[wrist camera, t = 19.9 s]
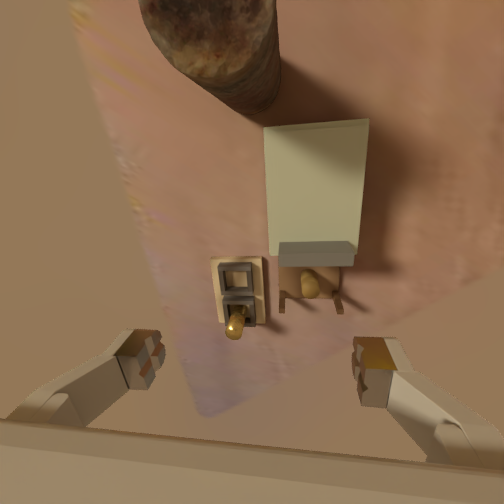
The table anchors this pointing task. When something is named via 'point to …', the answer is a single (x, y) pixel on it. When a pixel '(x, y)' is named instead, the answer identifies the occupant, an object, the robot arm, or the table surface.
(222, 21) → the brown wooden log
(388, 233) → the table surface
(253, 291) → the tan socket tray
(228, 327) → the pin
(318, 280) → the base
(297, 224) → the lid
